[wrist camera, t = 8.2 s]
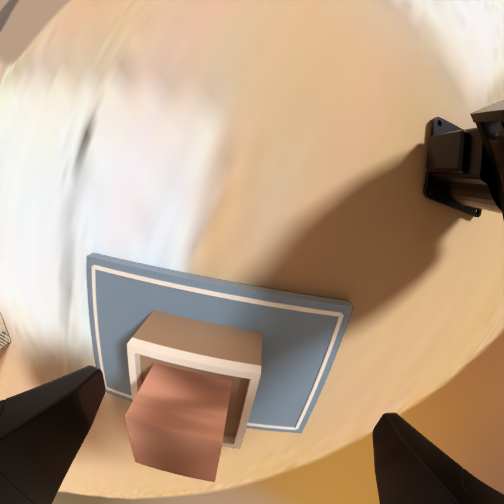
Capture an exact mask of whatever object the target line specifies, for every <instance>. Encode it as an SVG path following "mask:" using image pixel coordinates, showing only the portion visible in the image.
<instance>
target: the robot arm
mask: <svg viewBox="0 0 504 504" xmlns="http://www.w3.org/2000/svg"><path fill="white" fill-rule="evenodd" d="M471 117H472V119H473V121H474V122H475V123H476V125H477V128H472V129H466V130H463V129H461V128H459V127H457V126H455V125H454V124H452V123H450V122H448V121H446V120H444V119H442V118H440V117H436V118H433V119H432V127H431V137H430V139H429V149H428V157H427V165H426V169H427V172H426V178H425V184H424V190H423V193H424V196H425V198H427V199H430V200H432V201H435V202H438V203H441V204H443V205H446V206H449V207H451V208H454V209H456V210H459V211H462V212H464V213H467V214H469V215H471V216H474V217H479V216H480V215H481V211H482V209H484V210H489V211H493V212H498V213H502V214H503V219H504V100H502V101H500V102H497V103H495V104H492V105H490V106H488V107H485V108H483V109H480V110H478V111H476V112H473V113H471ZM437 121H438V123H439V126H438V124H437ZM429 190H431V195H429ZM476 209H477V212H476ZM105 390H106V387H105V382H104V377H103V373H102V371H101V369H99V368H96V367H94V366H87V367H85V368H82V369H80V370H77V371H75V372H73V373H70V374H68V375H65V376H63V377H61V378H58V379H56V380H53V381H51V382H48V383H46V384H43V385H41V386H38V387H36V388H33V389H30V390H28V391H25V392H23V393H20V394H17V395H15V396H12V397H9V398H7V399H5V400H1V401H0V504H52V502H53V500H54V498H55V496H56V493H57V492H58V490H59V488H60V485H61V483H62V481H63V479H64V477H65V475H66V473H67V472H68V470H69V468H70V466H71V464H72V462H73V460H74V458H75V456H76V454H77V452H78V450H79V449H80V447H81V445H82V443H83V441H84V439H85V437H86V436H87V434H88V432H89V430H90V428H91V426H92V423H93V421H94V418H95V416H96V413H97V411H98V409H99V406H100V404H101V401H102V399H103V397H104V394H105ZM373 448H374V466H375V475H376V481H377V487H378V494H379V501H380V504H504V495H503V494H502V493H500V492H498V491H496V490H495V489H493V488H491V487H490V486H488V485H486V484H485V483H483V482H482V481H480V480H479V479H477V478H476V477H474V476H473V475H472V474H470V473H469V472H468V471H467V470H465V469H463V468H462V467H461V466H460V465H459V464H458V463H456V462H455V461H454V460H453V459H451V458H450V457H449V456H448V455H446V454H445V453H444V452H443V451H441V450H440V449H439V448H438V447H437V446H435V445H434V444H433V443H432V442H430V441H429V440H428V439H427V438H425V437H424V436H423V435H422V434H421V433H419V432H418V431H417V430H416V429H415V428H413V427H412V426H411V425H410V424H409V423H407V422H406V421H405V420H404V419H403V418H402V417H400V416H399V415H398V414H397V413H385V414H383V415H382V417H381V418H380V420H379V421H378V423H377V424H376V426H375V428H374V430H373Z"/></svg>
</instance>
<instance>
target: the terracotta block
mask: <svg viewBox="0 0 504 504" xmlns="http://www.w3.org/2000/svg"><path fill="white" fill-rule="evenodd" d="M231 385H232V380H230V379H224V378H219V377H214V376H209V375H204V374H199V373H194V372H190V371H185V370H181V369H177V368H173V367H169V366H165V365H161V364H157V363H154V364H153V366H152V368H151V369H150V371H149V373H148V375H147V377H146V378H145V380H144V382H143V384H142V385H141V387H140V389H139V391H138V393H137V394H136V396H135V398H134V400H133V402H132V404H131V405H130V407H129V409H128V411H127V413H126V415H125V416H124V417H125V421H126V426H127V431H128V435H129V439H130V443H131V447H132V451H133V455H134V458H135V462H137V463H140V464H143V465H146V466H149V467H153V468H156V469H159V470H163V471H167V472H170V473H174V474H178V475H182V476H187V477H191V478H196V479H201V480H206V481H212V482H215V478H216V472H217V467H218V462H219V457H220V452H221V447H222V442H223V435H224V429H225V423H226V417H227V410H228V404H229V398H230V391H231Z"/></svg>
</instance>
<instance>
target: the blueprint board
mask: <svg viewBox="0 0 504 504" xmlns="http://www.w3.org/2000/svg"><path fill="white" fill-rule="evenodd" d="M87 285H88V302H89V315H90V325H91V334H92V341H93V349H94V355H95V362H96V367H97V368H99V369H101V371H102V373H103V377H104V382H105V387H106V390H105V392H108V393H110V394H113V395H116V396H119V397H121V398H124V399H127V400H130V401H133V400H134V398H135V396H136V394H137V393H138V391H139V389H140V387H141V385H142V384H143V382H144V380H145V378H146V377H147V375H148V373H149V371H150V369H151V368H152V366H153V364H154V363H157V364H161V365H165V366H169V367H173V368H177V369H181V370H185V371H190V372H194V373H199V374H204V375H209V376H214V377H219V378H224V379H230V380H232V385H231V391H230V398H229V404H228V410H227V417H226V423H225V429H224V435H223V442H222V446H224V447H230V448H237V449H240V447H241V444H242V441H243V437H244V434H245V430H246V428H252V429H260V430H269V431H280V432H293V433H302V431H303V429H304V427H305V425H306V423H307V421H308V419H309V417H310V414H311V412H312V410H313V408H314V406H315V404H316V401H317V399H318V397H319V395H320V393H321V390H322V388H323V386H324V383H325V381H326V379H327V376H328V374H329V371H330V369H331V366H332V364H333V361H334V359H335V356H336V354H337V351H338V348H339V346H340V343H341V340H342V338H343V335H344V332H345V329H346V326H347V324H348V321H349V318H350V315H351V312H352V309H353V306H352V305H351V303H350V302H349V301H344V300H338V299H331V298H324V297H318V296H312V295H305V294H299V293H293V292H287V291H281V290H275V289H269V288H264V287H258V286H252V285H247V284H241V283H236V282H230V281H225V280H220V279H214V278H209V277H204V276H199V275H194V274H189V273H184V272H179V271H174V270H169V269H164V268H160V267H155V266H150V265H145V264H141V263H136V262H132V261H127V260H123V259H118V258H114V257H109V256H105V255H101V254H96V253H92V254H90V255H88V256H87Z"/></svg>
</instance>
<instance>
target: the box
mask: <svg viewBox="0 0 504 504" xmlns="http://www.w3.org/2000/svg"><path fill="white" fill-rule="evenodd" d="M10 342H11V340H10V338H9V335H8V333H7V330H6V327H5V325H4V322H3V319H2V316H1V314H0V350H1V349H2V348H3V347H5V346H6V345H7V344H8V343H10Z"/></svg>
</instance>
